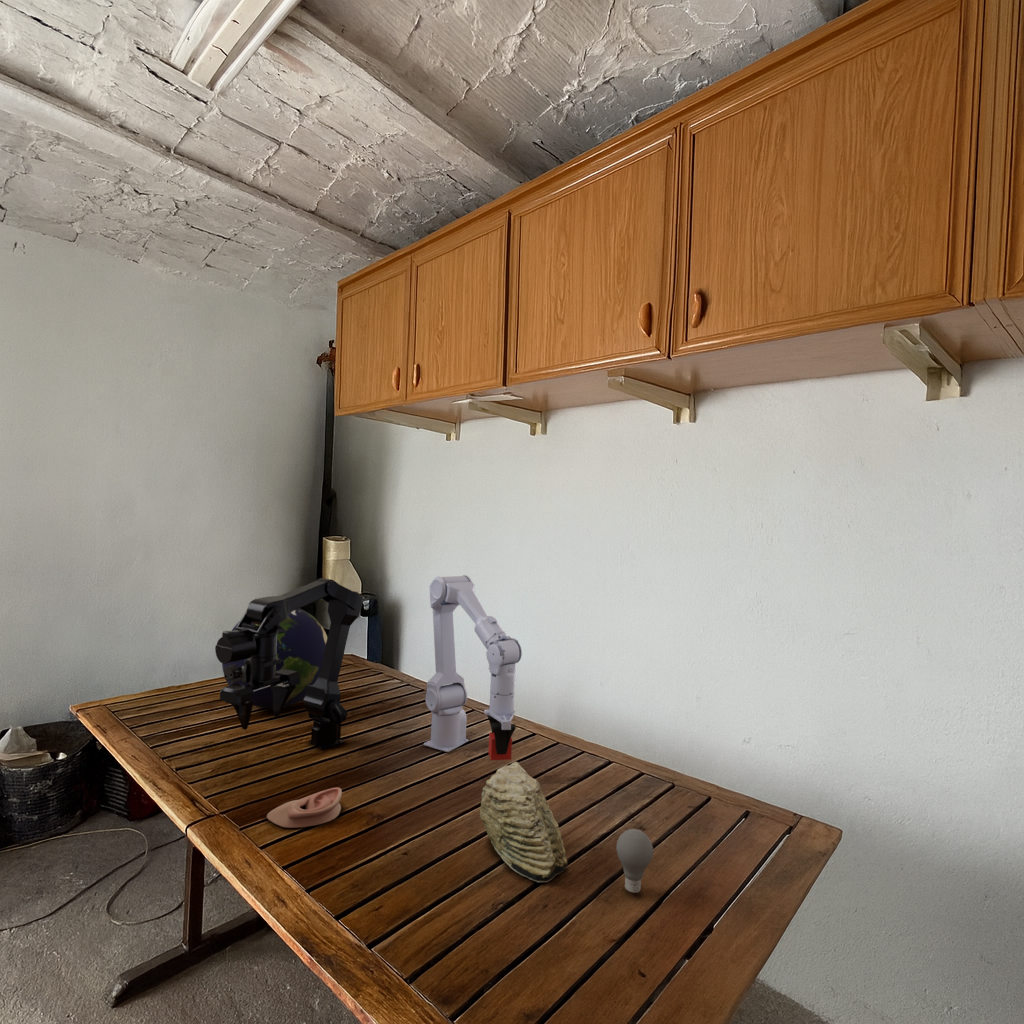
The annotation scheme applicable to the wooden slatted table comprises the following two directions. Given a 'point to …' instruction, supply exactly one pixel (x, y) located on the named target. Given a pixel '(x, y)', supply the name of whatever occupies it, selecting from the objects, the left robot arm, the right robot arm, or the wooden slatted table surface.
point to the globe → (293, 656)
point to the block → (493, 752)
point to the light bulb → (634, 857)
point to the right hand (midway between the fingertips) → (499, 749)
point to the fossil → (522, 824)
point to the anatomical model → (308, 810)
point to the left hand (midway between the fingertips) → (260, 722)
